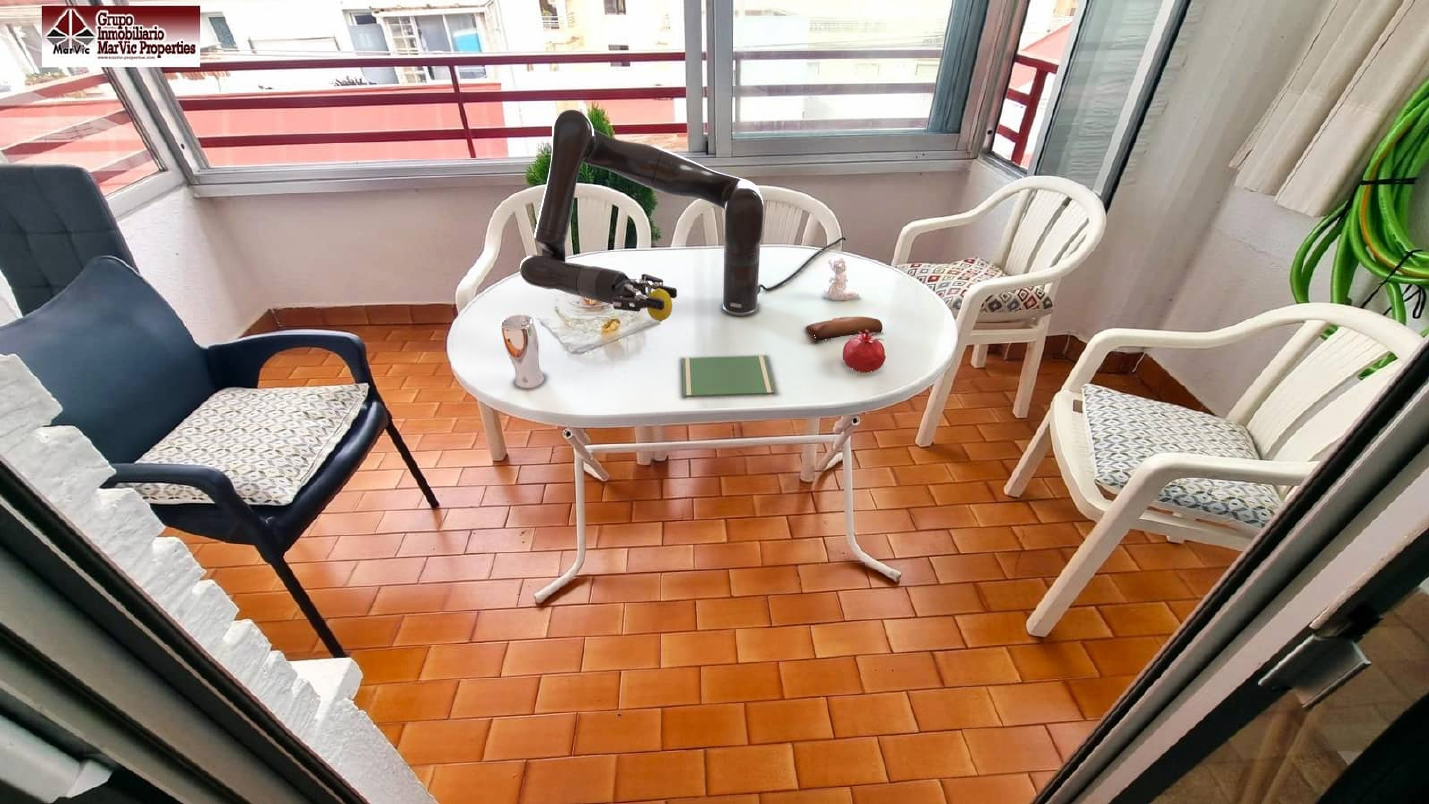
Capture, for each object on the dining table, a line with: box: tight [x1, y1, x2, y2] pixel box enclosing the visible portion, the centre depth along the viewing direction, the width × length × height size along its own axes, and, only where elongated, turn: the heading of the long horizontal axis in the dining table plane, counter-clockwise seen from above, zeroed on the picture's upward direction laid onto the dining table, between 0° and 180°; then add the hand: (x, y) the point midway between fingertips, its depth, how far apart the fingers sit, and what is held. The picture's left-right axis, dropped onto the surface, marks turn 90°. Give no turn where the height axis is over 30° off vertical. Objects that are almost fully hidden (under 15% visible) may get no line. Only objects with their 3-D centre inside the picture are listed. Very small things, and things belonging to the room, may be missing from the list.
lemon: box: [646, 288, 673, 323], centre depth 126 cm, size 6×6×8 cm
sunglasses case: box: [805, 316, 884, 343], centre depth 147 cm, size 18×7×7 cm
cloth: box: [681, 355, 776, 398], centre depth 132 cm, size 15×20×1 cm
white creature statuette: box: [823, 255, 860, 301], centre depth 161 cm, size 10×9×12 cm
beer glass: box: [500, 314, 545, 389], centre depth 125 cm, size 7×7×15 cm
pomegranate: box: [842, 330, 887, 374], centre depth 132 cm, size 10×10×9 cm
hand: (669, 299), depth 124 cm, fingers closed on lemon, 5 cm apart
